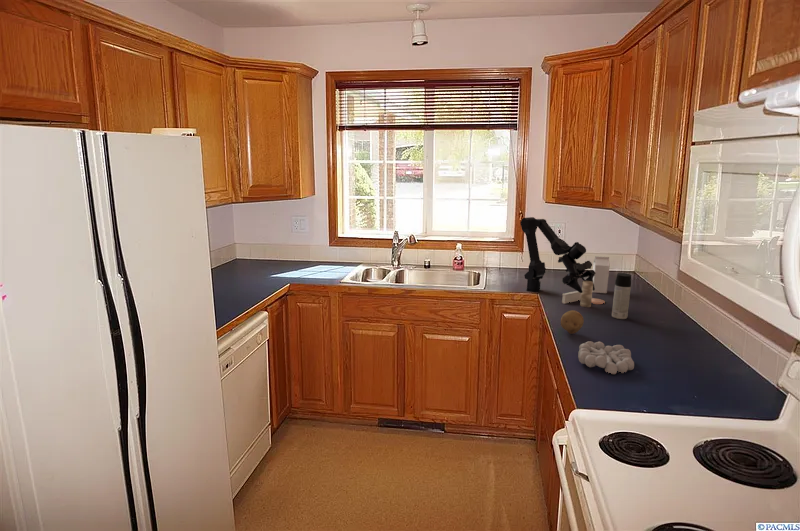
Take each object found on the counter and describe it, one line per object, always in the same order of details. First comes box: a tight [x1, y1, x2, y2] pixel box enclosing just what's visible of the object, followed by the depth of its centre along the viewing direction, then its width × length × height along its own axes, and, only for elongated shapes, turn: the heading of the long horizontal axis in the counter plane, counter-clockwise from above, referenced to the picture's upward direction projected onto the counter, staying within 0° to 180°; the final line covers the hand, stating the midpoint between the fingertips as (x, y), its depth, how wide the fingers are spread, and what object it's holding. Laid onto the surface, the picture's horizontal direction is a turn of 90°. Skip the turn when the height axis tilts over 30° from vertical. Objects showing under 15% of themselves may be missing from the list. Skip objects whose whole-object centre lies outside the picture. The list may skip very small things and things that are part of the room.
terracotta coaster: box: [591, 297, 606, 305], centre depth 267 cm, size 9×9×1 cm
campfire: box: [577, 340, 635, 375], centre depth 190 cm, size 22×21×6 cm
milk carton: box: [592, 256, 610, 294], centre depth 285 cm, size 7×7×19 cm
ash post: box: [579, 280, 593, 308], centre depth 258 cm, size 5×5×12 cm
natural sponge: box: [560, 309, 584, 335], centre depth 218 cm, size 9×9×10 cm
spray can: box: [611, 272, 632, 320], centre depth 241 cm, size 7×7×20 cm
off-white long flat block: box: [561, 290, 581, 305], centre depth 266 cm, size 12×2×5 cm, turn 124°
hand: (588, 291), depth 258 cm, fingers open, 9 cm apart
